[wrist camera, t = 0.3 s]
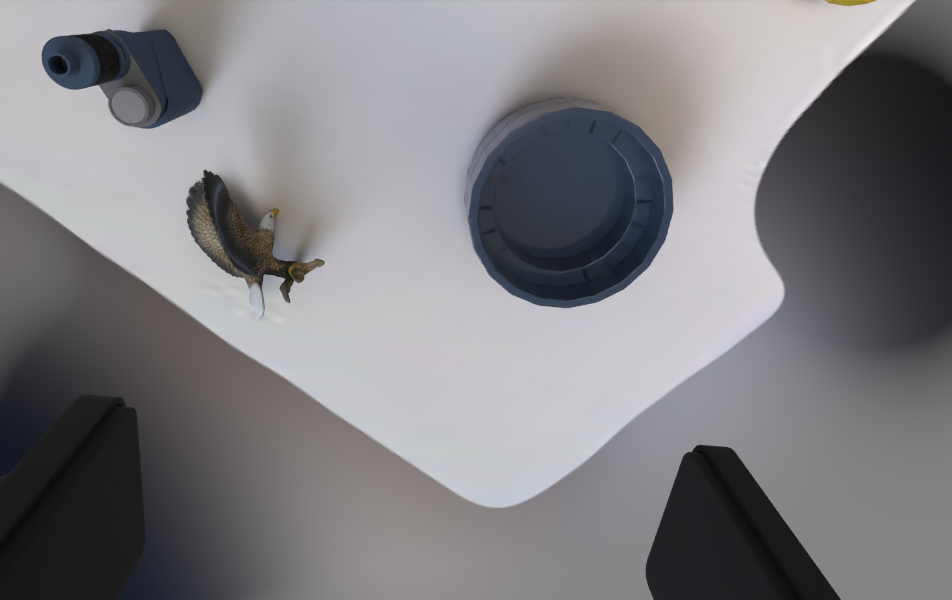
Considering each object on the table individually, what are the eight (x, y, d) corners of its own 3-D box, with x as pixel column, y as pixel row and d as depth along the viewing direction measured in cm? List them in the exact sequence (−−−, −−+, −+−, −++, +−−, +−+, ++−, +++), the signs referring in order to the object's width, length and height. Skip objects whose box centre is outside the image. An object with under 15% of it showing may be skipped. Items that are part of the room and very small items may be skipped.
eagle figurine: (343, 217, 44) (222, 139, 39) (311, 302, 40) (172, 226, 35) (292, 257, 49) (181, 191, 44) (259, 335, 45) (133, 272, 41)
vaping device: (165, 19, 39) (64, 25, 28) (212, 101, 41) (135, 136, 30) (128, 36, 39) (14, 48, 28) (177, 117, 41) (88, 158, 30)
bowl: (478, 84, 42) (485, 94, 37) (667, 110, 43) (697, 123, 39) (453, 269, 47) (457, 298, 42) (623, 285, 49) (644, 315, 44)
